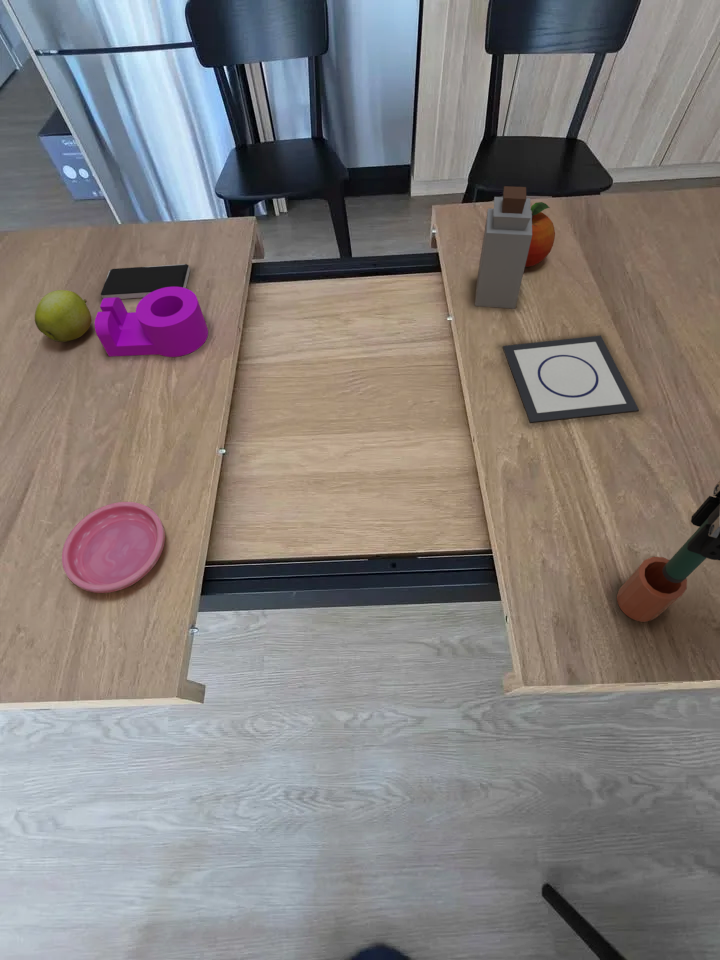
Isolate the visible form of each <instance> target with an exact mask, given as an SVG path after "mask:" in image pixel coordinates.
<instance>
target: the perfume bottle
mask: <svg viewBox="0 0 720 960" xmlns="http://www.w3.org/2000/svg"><path fill="white" fill-rule="evenodd" d="M493 197H494V198H493V199H494V200H493V208H492V207H491V208H489V207H488V208H487V212H486V218H485V225H484V232H483V237H482V244H481V251H480V258H479V264H478V271H477V278H476V285H475V286H476V287H475V298H474V299H475V301H474V306H475V307H484V308H501V309H514V310H516V307H517V304H518V303H517V302H518V299H519V294H520V289H521V286H522V281H523V277H524V272H525V268H526V267H525V264H526V260H527V256H528V251H529V247H530V243H531V238H532V210H531V198H530V197H527V187H526V186H512V185H511V186H506V185H504V186H503V192H502V196H493Z"/></svg>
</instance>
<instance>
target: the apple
mask: <svg viewBox="0 0 720 960" xmlns="http://www.w3.org/2000/svg"><path fill="white" fill-rule="evenodd" d="M86 303H88V301H87V299H85V298H82V297H81V296H80V295H79V294H78V293H77V292H74V291H71V290H68V289H67V290H66V289H57V290H52V291H50V292H48V293H47V294H45V295H44V296H43V297H42V298H41V299H40V301H39V302H38V304H37V306H36V307H35V308H36V309H35V312H34V322H35V325H36V328H37V329H38V331H39V332H40V333H42V334H43V335H44V336H46V337H48V339H50V340H52V341H54V342H58V343H64V342H66V343H67V342H71V341H73V340H74V341H75V340H76V339H79V338H81V337H82V336H83V335H85V334H86V333H87V332H88V330H89V329H90V327H91V324H92V314H91V311H90V309H89V308H88V305H87V304H86Z"/></svg>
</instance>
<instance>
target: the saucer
mask: <svg viewBox="0 0 720 960" xmlns="http://www.w3.org/2000/svg"><path fill="white" fill-rule="evenodd" d="M165 541H166V531H165V527H164V524H163V522H162V520H161V518H160V517H159V515H158V514H157V513H156V512H155V511H154V510H153V509H152V508H150V507H149V506H147V505H145V504H143V503H140V502H135V501H118V502H112V503H109V504H106V505H103V506H101V507H99V508H96V509H95V510H93V511H92V512H90V513H88V514H87V515H85V516H84V517H83V518H82V519H81V520H79V522H78V523H76V525H75V526H74V527H73V528H72V529H71V530H70V532H69V534H67V537H66V538H65V541H64V544H63V547H62V552H61V564H62V568H63V571H64V573H65V575H66V577H67V578H68V579H69V580H70V581H71V582H72V583H73V584H74V585H75V586H77V587H78V588H80V589H82V590H83V591H87V592H89V593H95V594H109V593H113V592H117V591H121V590H124V589H127V588H129V587H131V586H133V585H134V584H136V583H137V582H139V581H140V580H142V579H143V578H144V577H145V576H146V575H148V574H149V573H150V572H151V570H152V569H153V568H154V567H155V566H156V564H157V563H158V561H159V559H160V557H161V556H162V553H163V550H164V547H165Z"/></svg>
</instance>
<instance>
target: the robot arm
mask: <svg viewBox="0 0 720 960" xmlns="http://www.w3.org/2000/svg"><path fill="white" fill-rule="evenodd" d="M712 491H713V492H712V495H708V497H707V498H706V499H705V500H704V501H703V502H702V504H701V505H700V506H699V507H698V508H697V509H696V510H695V512H694V513H693V514H692V515H691V519H690V524H692V525H693V526H696V527H698V528H699V527H700V526H701V525H702V524H703V523H704V522H705V521H706V520H707V518H708V517H709V515H710V514H711V513H712V512H713V511H714V510H715V509H716V508H717V506H718V505H719V504H720V480H719V481H718V482H717V483H716V484H715V486H714V488H713V490H712ZM687 549H688V550H689V551H691V552H694V553H697V554H700V555H702V556H703V557H705V558H706V559H708V560H713V561H720V514H719V517H718V518H717V519H716V520H715V521H714V523H713V524H705V526H704V527H703V528H702V529H701V530H700V531H699V532H698V533H697V534H696V535H695V536H694V538H693V539H692V540H691V541H690V542H689V543H688V546H687Z"/></svg>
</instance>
